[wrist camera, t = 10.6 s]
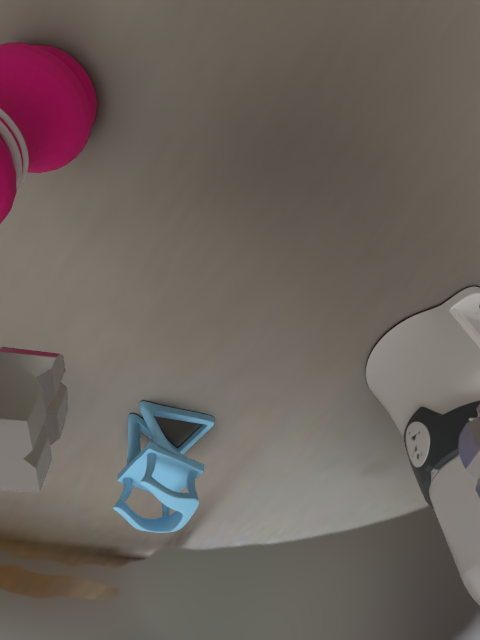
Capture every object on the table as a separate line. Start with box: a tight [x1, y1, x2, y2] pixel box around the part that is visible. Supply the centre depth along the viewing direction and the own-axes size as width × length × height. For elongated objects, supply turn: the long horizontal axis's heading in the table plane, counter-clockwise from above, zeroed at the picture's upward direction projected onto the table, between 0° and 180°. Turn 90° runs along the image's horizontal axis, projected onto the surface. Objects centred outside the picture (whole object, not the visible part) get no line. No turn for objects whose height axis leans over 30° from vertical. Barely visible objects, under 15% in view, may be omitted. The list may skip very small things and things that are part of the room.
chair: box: [113, 401, 214, 533], centre depth 48 cm, size 8×8×12 cm
